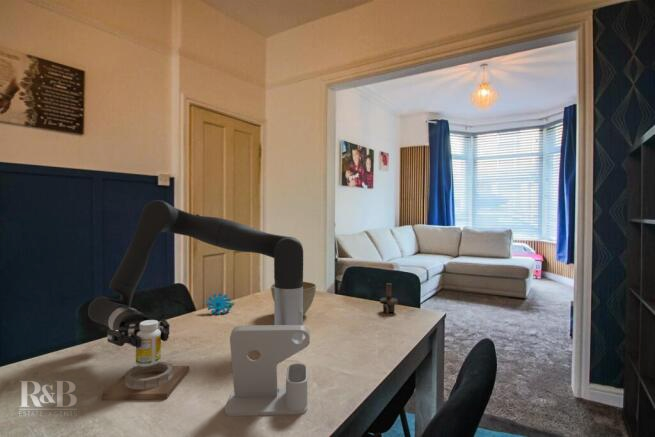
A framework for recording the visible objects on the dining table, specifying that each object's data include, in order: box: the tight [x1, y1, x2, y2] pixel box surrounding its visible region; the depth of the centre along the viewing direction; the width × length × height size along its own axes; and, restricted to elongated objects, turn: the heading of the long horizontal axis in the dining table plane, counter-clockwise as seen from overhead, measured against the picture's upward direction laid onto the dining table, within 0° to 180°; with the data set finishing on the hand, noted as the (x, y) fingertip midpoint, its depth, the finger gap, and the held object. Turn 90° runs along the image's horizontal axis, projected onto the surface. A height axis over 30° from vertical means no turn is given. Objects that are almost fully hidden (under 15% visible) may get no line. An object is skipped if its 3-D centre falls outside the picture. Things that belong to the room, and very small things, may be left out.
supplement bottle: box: [135, 319, 162, 367], centre depth 84 cm, size 5×5×10 cm
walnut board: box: [101, 361, 190, 401], centre depth 84 cm, size 14×14×3 cm
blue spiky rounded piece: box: [206, 292, 235, 316], centre depth 146 cm, size 11×6×10 cm
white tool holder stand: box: [224, 324, 311, 417], centre depth 77 cm, size 17×10×18 cm, turn 94°
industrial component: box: [379, 282, 399, 314], centre depth 147 cm, size 9×7×12 cm
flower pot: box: [270, 281, 317, 316], centre depth 142 cm, size 18×18×12 cm
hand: (153, 339), depth 82 cm, fingers closed on supplement bottle, 5 cm apart
